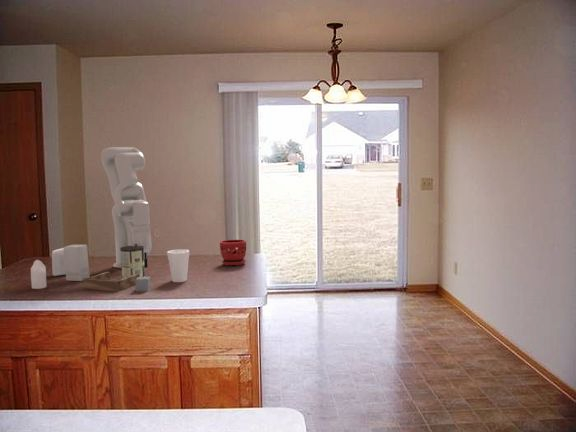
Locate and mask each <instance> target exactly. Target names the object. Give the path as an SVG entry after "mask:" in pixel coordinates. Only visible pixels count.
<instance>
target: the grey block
mask: <svg viewBox="0 0 576 432" xmlns="http://www.w3.org/2000/svg"><path fill="white" fill-rule="evenodd" d="M135 281H136V285H135V291H136V292H149V291H150V290H151V288H152V283H151V281H152V279H151V276H145V277H138V278H136V279H135Z"/></svg>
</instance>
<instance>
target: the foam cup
mask: <svg viewBox="0 0 576 432" xmlns="http://www.w3.org/2000/svg"><path fill="white" fill-rule="evenodd" d="M166 253H167V259H168V264H169V270H170V276H171V281H172V282H173V283H182V282H183V283H184V282H186V281H187V279H188V273H189V272H188V270H189V259H190V250H189V249H171V250H168V251H166Z"/></svg>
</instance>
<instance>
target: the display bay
mask: <svg viewBox="0 0 576 432" xmlns="http://www.w3.org/2000/svg"><path fill="white" fill-rule="evenodd" d="M138 277H140V274H134V275H131V276H129V277H126V278H123V279H122V278H121V279H118V280H110V279H111V278H110V271H105V272H102V273H99V274H96V275H92V276H90V277H89V278H86V279H83V281H82V282H83V289H84V290H95V291H107V292H108V291H109V292H110V291H111V292H120V291H123V290H125V289H126V290H127V288H131V287H133V286H136V281H135V279H136V278H138Z"/></svg>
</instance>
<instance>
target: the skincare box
mask: <svg viewBox="0 0 576 432" xmlns="http://www.w3.org/2000/svg"><path fill="white" fill-rule="evenodd" d="M63 248H64V258H65V269H66V275H65V278H66V279H65V280H66V281H69V282H70V281H71V282H72V281H73V282H83V279H86V278H89V277H91V276H90V275H91V274H90V265H89V264H90V263H89V255H88V254H89V253H88V245H87V244H69V245H66V246H63Z"/></svg>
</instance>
